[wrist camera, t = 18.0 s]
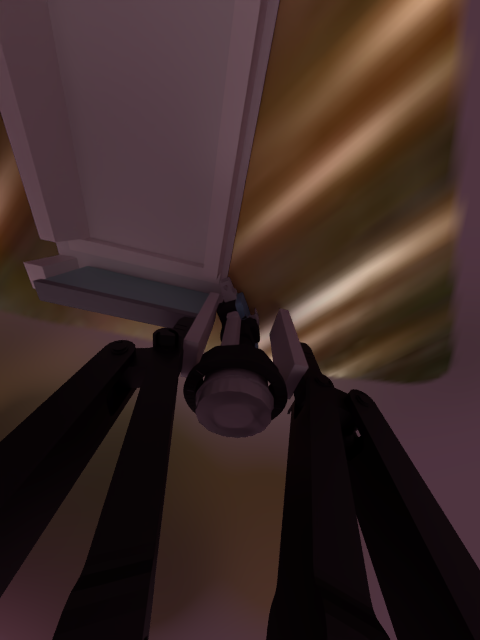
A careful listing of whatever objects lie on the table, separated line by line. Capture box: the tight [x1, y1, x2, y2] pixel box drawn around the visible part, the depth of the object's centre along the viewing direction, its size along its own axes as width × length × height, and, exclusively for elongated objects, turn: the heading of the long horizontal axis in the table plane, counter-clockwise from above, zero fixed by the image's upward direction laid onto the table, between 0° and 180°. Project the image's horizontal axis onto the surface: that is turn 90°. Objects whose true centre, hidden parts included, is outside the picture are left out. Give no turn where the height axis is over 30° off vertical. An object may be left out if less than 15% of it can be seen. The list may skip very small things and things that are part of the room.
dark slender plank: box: [33, 266, 209, 328], centre depth 14 cm, size 1×11×4 cm, turn 78°
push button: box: [183, 277, 288, 438], centre depth 13 cm, size 7×5×10 cm
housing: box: [0, 0, 280, 307], centre depth 11 cm, size 22×14×3 cm
